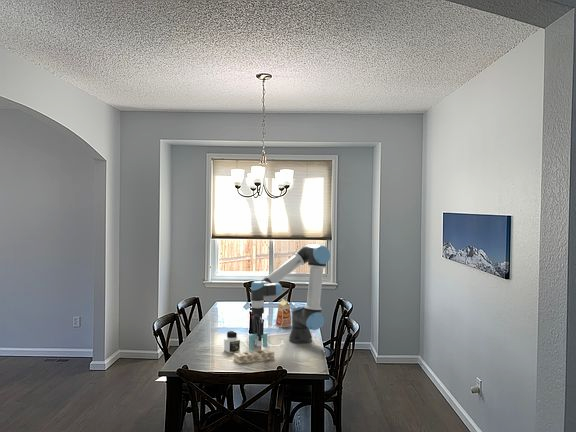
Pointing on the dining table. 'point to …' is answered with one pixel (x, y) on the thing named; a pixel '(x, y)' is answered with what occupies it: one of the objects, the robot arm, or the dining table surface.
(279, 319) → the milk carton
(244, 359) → the cream toy brick
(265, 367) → the dining table surface
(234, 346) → the medicine bottle
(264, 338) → the teal arch block
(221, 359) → the dining table surface
